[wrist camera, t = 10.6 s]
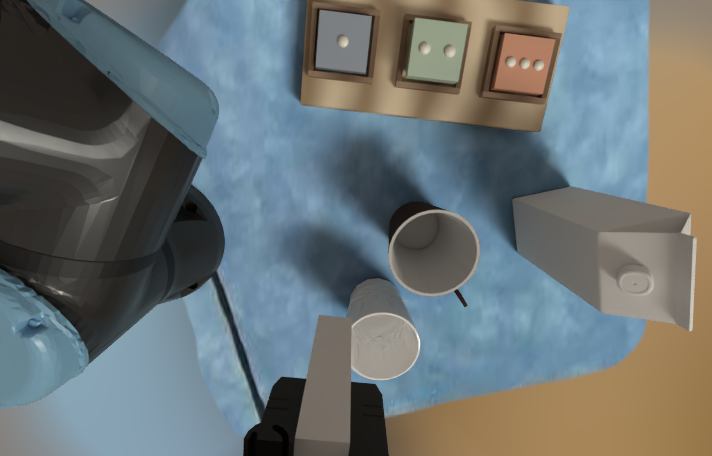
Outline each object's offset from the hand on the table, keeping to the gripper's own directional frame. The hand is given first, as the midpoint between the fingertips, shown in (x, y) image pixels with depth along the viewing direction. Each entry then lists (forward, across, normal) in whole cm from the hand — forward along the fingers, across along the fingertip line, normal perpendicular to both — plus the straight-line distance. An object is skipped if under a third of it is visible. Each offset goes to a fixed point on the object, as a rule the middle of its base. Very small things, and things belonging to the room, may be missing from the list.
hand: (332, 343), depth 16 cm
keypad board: (+26, -7, -18) cm, 33 cm away
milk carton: (+27, -24, -2) cm, 36 cm away
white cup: (+27, -5, +11) cm, 29 cm away
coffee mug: (+27, -9, +2) cm, 28 cm away
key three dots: (+24, -16, -18) cm, 34 cm away
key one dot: (+24, +2, -18) cm, 30 cm away
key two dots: (+23, -7, -18) cm, 30 cm away
